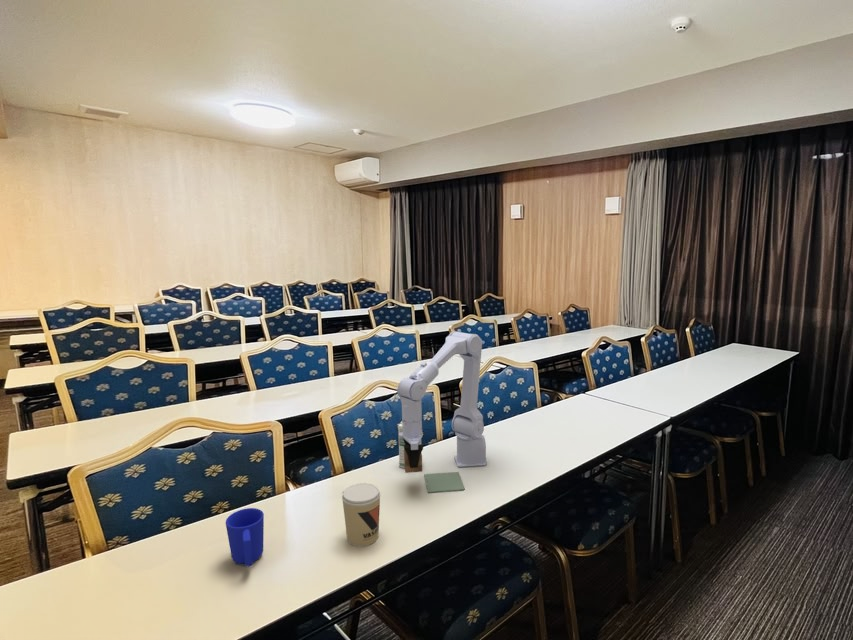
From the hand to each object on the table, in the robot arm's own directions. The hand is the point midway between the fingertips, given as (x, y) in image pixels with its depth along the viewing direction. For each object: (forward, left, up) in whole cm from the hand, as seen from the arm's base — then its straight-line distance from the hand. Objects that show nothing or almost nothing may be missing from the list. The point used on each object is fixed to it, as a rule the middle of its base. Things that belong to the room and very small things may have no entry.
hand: (413, 462), depth 138 cm
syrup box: (0, -15, -8) cm, 17 cm away
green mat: (-9, -2, -8) cm, 13 cm away
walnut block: (0, 0, -2) cm, 2 cm away
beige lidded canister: (+15, +22, -8) cm, 28 cm away
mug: (+41, +28, -8) cm, 50 cm away
